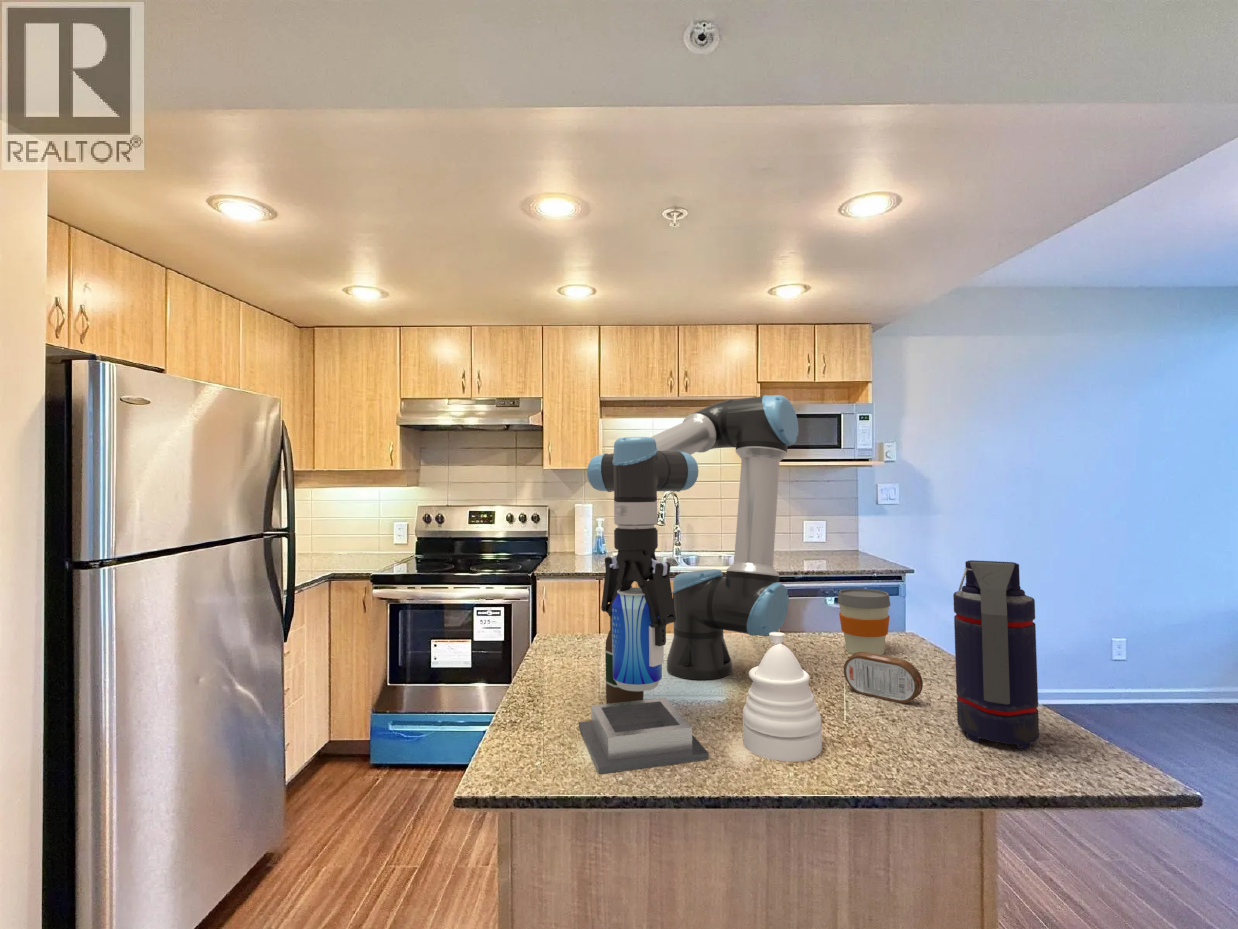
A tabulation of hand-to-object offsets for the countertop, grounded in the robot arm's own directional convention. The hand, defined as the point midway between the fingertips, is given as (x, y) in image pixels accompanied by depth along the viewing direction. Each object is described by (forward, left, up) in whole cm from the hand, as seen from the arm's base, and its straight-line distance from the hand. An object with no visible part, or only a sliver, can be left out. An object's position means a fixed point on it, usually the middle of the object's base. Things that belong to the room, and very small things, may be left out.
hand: (637, 659), depth 103 cm
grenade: (-59, +15, -15) cm, 63 cm away
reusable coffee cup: (-70, -36, -15) cm, 80 cm away
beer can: (0, 0, -5) cm, 5 cm away
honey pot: (-23, +7, -15) cm, 28 cm away
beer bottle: (-2, -18, -14) cm, 23 cm away
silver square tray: (0, 0, -14) cm, 14 cm away
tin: (-53, -7, -15) cm, 56 cm away
